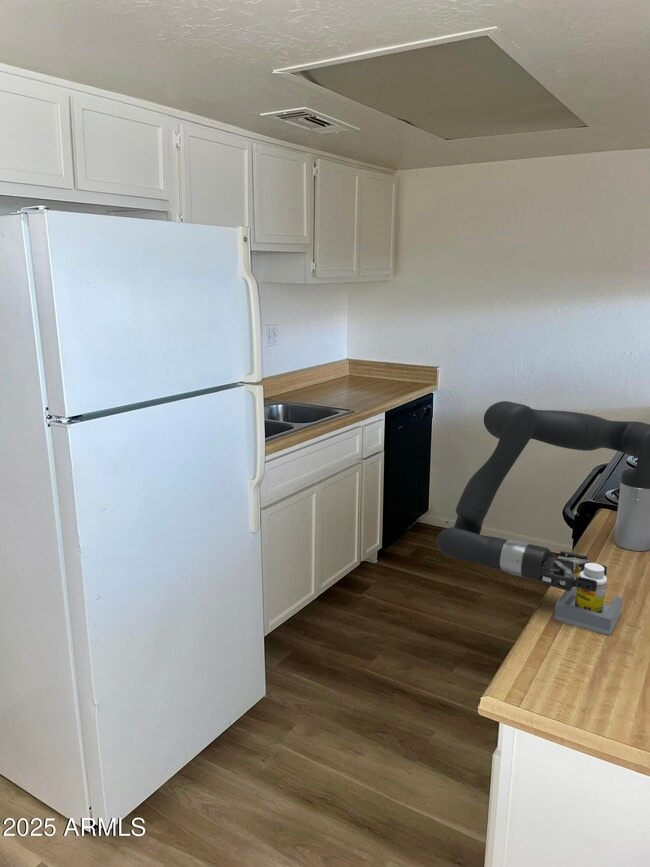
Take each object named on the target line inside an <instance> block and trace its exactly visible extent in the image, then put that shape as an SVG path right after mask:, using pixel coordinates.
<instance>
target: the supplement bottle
mask: <svg viewBox="0 0 650 867" xmlns="http://www.w3.org/2000/svg"><path fill="white" fill-rule="evenodd" d="M601 565H602V564H600V565H599V563H596V562H591V563H586V564H585V566H584V571H582V572H579V574H578V577H583V578H587V579H591V580H595V581H597V589H596V591H595V592H593V591H589V590H585V589H581V588H577V590H576V600H575V607H579V608H583V609H586V610H590V611H594V612H597V613H602V610H603V604H605V603H604V602H605V597H606V591H607V584H608V578H607V575H604V570H605V569H604V567H603V566H601Z"/></svg>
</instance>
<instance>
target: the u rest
mask: <svg viewBox="0 0 650 867" xmlns="http://www.w3.org/2000/svg"><path fill="white" fill-rule="evenodd" d="M576 593H577V587H576V588H571V591H566V590H564V592H563V593H562V595H561V596H560V598H559V599H558V601H556V603H555V605H554V607H555V608H554V617H553V618H554V620H555V621H558V622H561V623H565V624H568V625H572V626H575V627H579V628H582V629H586V630H588V631H593V632H597V633H600V634H603V635H606V636H611V633H612V631H613V629H614V627H615V626H616V623H617V622H618V620H619V618H620V616H621V614H622V606H623V598H622V597H620V596H616V595H615V596H614V598H613V600H612V601H611V603H610V605H608V604H605V603H604V604H603V610H602V613H597V612H594V611H590V610H586V609H583V608H579V607H575V600H576Z"/></svg>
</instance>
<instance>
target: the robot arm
mask: <svg viewBox="0 0 650 867" xmlns="http://www.w3.org/2000/svg"><path fill="white" fill-rule="evenodd" d="M483 424H484V428H485V429H486V430H487V432H488V433H489V434H490V435H492V436H493V437H494V438H496V439H499V440H498V441H497V445H496V447H495V449H494V451H493V453H492V454H491V455H490V456H489V458H488V459H487V460H486V462H485V463H484V464H482V466H481V467H480V468H479V469H478V470H477V471H475V473H474V474H473V475H472V476H471V477H470V479H469V480H468V482H467V484H466V486H465V487H464V490H463V491H462V494H461V496H460V498H459V501H458V503H457V504H456V507H455V514H456V515H457V517H456V519H455V523H454V526H453V527H451V526H450V527H447V528H445V529H443V530H442V531H440V532H439V534H438V536H437V538H436V544H437V548H438V549H439V551H440V552H441V553H442V555H444V556H446V558H447V557H448V558H452V559H456V560H460V561H461V560H462V561H466V562H470V563H477V564H480V565H482V566H485V567H487V568H491V569H494V570H499V571H503V572H506V573H508V574H510V575H514V576H518V577H521V578H526V579H530V580H532V581H537V582H540V583H542V584H543V585H546V586H549V587H552V588H553V587H554V588H556V589H559V590H564V591H571V588H576V587H577V588H581V589H585V590H589V591H593V592H595V591H596V589H597V581H595V580H591V579H587V578H583V577H579V576H577V575H579V574H578V573H580V572H582V571H584V566H585V564H586V563H592V562H591V561H590V560H589V557H588V556H587V555H584V554H577V553H572V552H568V551H562V550H561V551H559V556H555V555H553V554H552V552H551V550H550V548H548V547H546V546H541V545H537V544H533V543H527V542H523V541H519V540H512V539H510V540H509V539H505V538H502V537H497V536H491V535H482V534H481V531H482V528H483V523H484V519H485V518H486V516H487V514H488V512H489V509H490V507H491V505H492V503H493V501H494V498H495V496H496V494H497V492H498V490H499V489H500V487H501V485H502V483H503V481H504V480H505V479H506V477H507V475H508V473H509V472H510V470H511V469H512V467H513V466H514V464H515V463H516V461H517V460H518V458H519V457H520V455H521V454H522V452H524V449H525V448H526V446H527V445H528V443H529V442H530V440H535V441H539V442H542V443H544V444H547V445H548V444H549V445H552V446H555V447H558V448H563V449H569V450H574V451H585V452H588V451H591V452H592V451H595V450H599V449H607V450H608V449H609V450H613V451H617V452H620V453H623V454H625V455H628V456H631V457H634V458H637V461H636V464H635V468H629V469H624V470H623V471H622V472H621V476H620V477H621V478H620V486H619V496H618V504H617V512H616V513H617V515H616V520H615V531H614V537H613V538H614V541H613V542H614V544H615V545H616V546H618V547H620V548H623V549H625V550H628V551H629V550H630V551H634V552H646V551H649V550H650V423H646V422H644V421H635V420H634V421H628V420H627V421H625V420H624V421H623V420H621V421H619V420H609V419H605V418H603V417H600V416H598V415H593V414H589V413H583V412H576V411H565V410H547V409H536V408H535V409H534V408H531V407H530V406H527V405H525V404H522V403H517V402H512V401H510V400H509V401H508V400H507V401H506V400H505V401H502V400H501V401H497V402H496V403H493V404H492V405H490V406H489V407H488V408H487V409H486V411H485V413H484V416H483ZM598 564H599V563H598ZM599 565H601V566H603V567H604V569H605V570H604V575H605V576H607V573H608V572H607V571H608V566H606V565H604V564H599Z"/></svg>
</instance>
